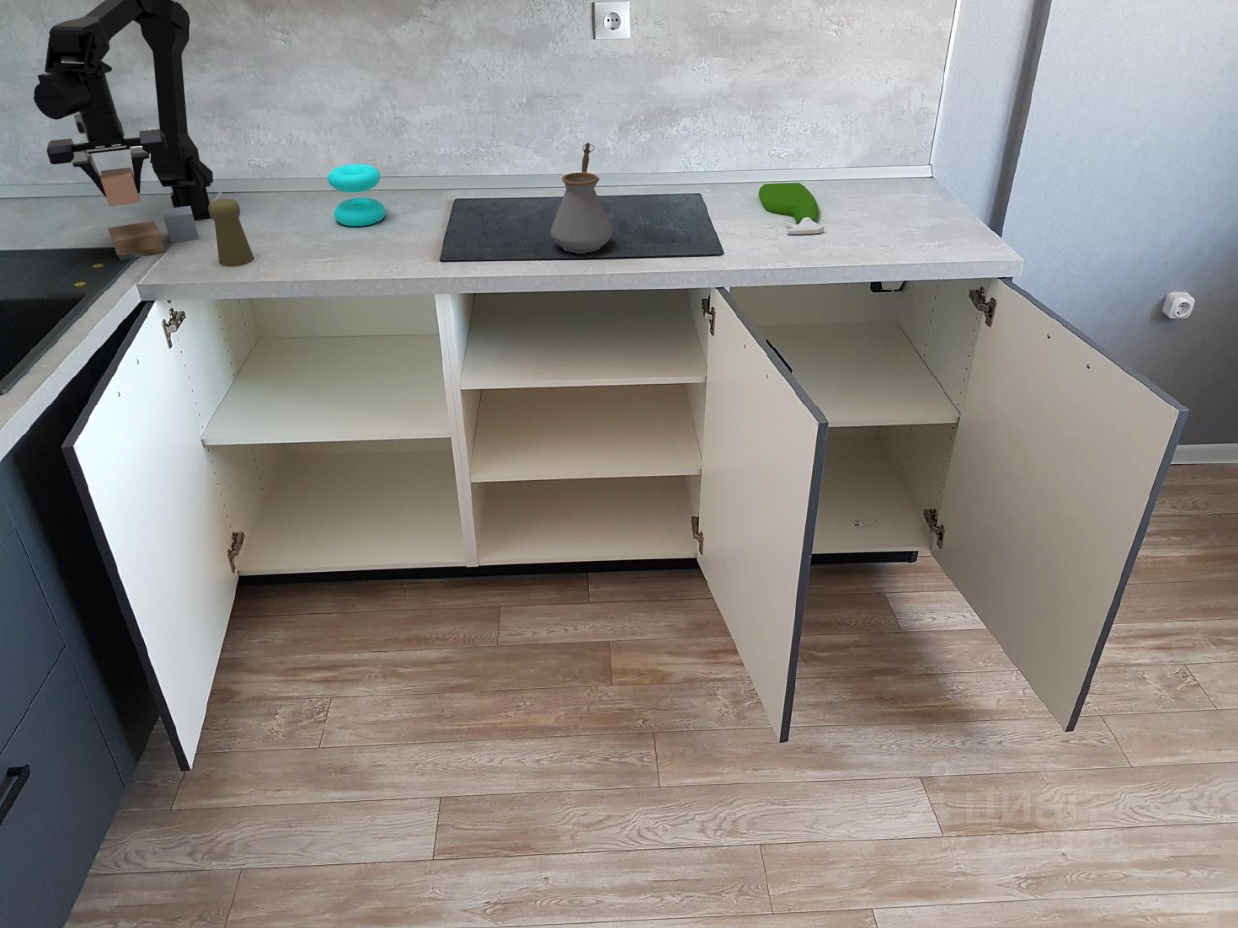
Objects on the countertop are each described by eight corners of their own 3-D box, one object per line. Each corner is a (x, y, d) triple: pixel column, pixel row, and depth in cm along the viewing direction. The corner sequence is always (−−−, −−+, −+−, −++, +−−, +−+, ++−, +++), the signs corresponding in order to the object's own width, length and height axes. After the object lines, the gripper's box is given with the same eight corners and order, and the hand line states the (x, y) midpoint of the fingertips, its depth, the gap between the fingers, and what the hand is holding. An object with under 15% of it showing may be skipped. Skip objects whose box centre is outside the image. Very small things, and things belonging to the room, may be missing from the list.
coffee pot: (609, 258, 171) (608, 176, 163) (547, 257, 172) (542, 174, 164) (618, 218, 189) (618, 142, 181) (561, 217, 190) (558, 141, 181)
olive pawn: (242, 251, 175) (227, 192, 169) (260, 259, 172) (246, 199, 166) (212, 261, 171) (196, 201, 165) (230, 269, 168) (215, 208, 162)
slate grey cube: (196, 231, 185) (190, 206, 182) (198, 239, 181) (192, 213, 178) (169, 234, 183) (162, 209, 180) (170, 243, 179) (163, 217, 176)
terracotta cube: (139, 194, 174) (131, 167, 171) (139, 202, 170) (131, 174, 167) (109, 198, 172) (100, 170, 169) (109, 206, 168) (100, 178, 165)
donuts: (318, 177, 180) (336, 161, 188) (328, 227, 186) (345, 210, 194) (369, 178, 179) (385, 162, 187) (377, 229, 185) (392, 212, 193)
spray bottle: (804, 195, 201) (835, 238, 181) (754, 197, 201) (779, 240, 181) (806, 181, 200) (837, 223, 180) (755, 183, 199) (781, 225, 179)
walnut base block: (159, 240, 181) (153, 220, 179) (166, 254, 175) (160, 233, 173) (114, 248, 178) (107, 228, 175) (119, 262, 172) (113, 241, 170)
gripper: (152, 89, 171) (175, 175, 180) (37, 100, 165) (67, 189, 173) (154, 103, 162) (179, 192, 171) (33, 115, 156) (65, 207, 165)
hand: (122, 194), depth 170 cm, fingers closed on terracotta cube, 5 cm apart
